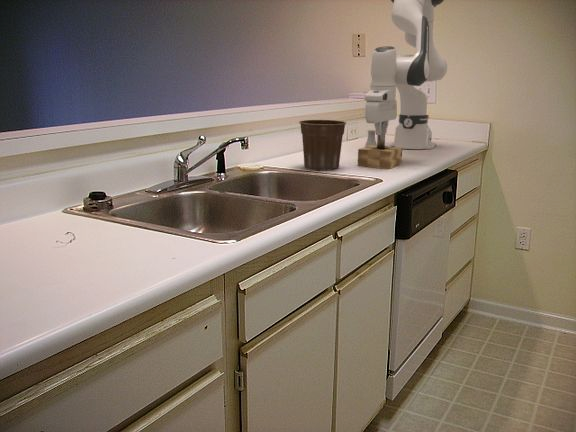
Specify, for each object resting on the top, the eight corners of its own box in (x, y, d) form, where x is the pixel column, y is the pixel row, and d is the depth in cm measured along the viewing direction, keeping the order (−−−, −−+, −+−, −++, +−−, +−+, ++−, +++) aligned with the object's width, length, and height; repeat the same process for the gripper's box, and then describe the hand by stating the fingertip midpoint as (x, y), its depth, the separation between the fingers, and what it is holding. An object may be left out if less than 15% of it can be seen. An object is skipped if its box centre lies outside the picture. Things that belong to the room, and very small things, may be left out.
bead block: (371, 161, 214) (371, 145, 212) (401, 163, 208) (402, 147, 206) (357, 165, 204) (358, 149, 202) (389, 168, 198) (389, 151, 196)
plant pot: (353, 166, 202) (354, 121, 198) (330, 173, 189) (331, 124, 185) (314, 162, 211) (315, 118, 207) (290, 169, 198) (290, 122, 194)
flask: (379, 157, 223) (380, 131, 221) (360, 156, 225) (361, 131, 222) (380, 154, 230) (381, 129, 228) (362, 153, 232) (363, 129, 229)
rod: (378, 153, 207) (379, 114, 203) (385, 153, 205) (387, 114, 202) (375, 154, 204) (376, 114, 201) (382, 154, 203) (384, 115, 199)
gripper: (385, 93, 210) (384, 130, 213) (362, 95, 193) (361, 136, 196) (402, 93, 206) (400, 131, 210) (379, 96, 190) (378, 137, 193)
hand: (381, 134), depth 203 cm, fingers closed on rod, 3 cm apart
